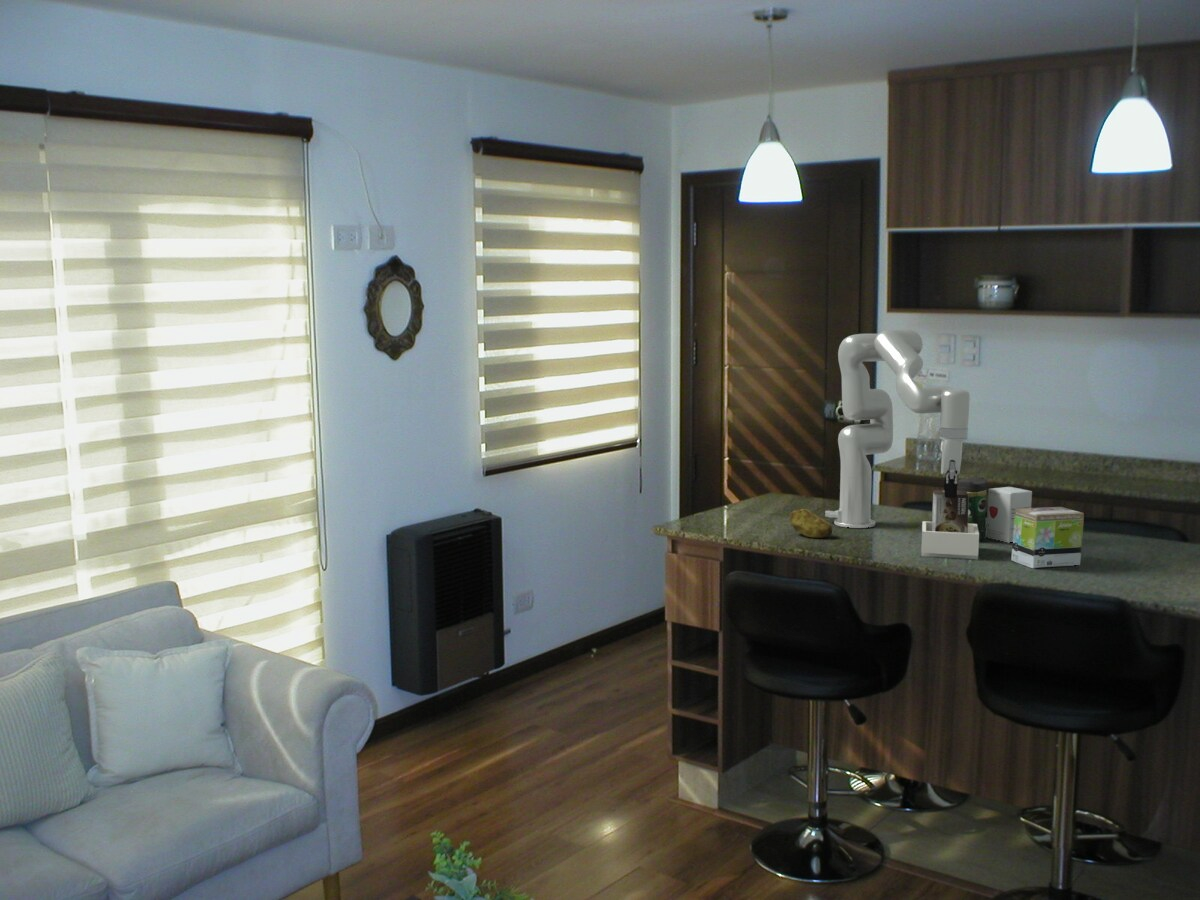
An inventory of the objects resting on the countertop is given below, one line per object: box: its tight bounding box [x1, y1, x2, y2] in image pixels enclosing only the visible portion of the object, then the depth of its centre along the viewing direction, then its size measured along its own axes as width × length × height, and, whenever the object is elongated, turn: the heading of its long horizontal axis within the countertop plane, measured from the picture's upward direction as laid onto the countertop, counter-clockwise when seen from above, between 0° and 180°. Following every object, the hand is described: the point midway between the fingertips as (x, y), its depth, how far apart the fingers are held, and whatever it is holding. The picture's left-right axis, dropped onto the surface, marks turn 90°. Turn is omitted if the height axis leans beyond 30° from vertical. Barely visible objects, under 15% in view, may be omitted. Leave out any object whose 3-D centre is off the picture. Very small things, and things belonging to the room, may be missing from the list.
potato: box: [788, 508, 833, 539], centre depth 351 cm, size 8×13×8 cm, turn 39°
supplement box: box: [985, 486, 1033, 544], centre depth 346 cm, size 9×9×15 cm
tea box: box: [1010, 506, 1085, 569], centre depth 315 cm, size 15×10×15 cm
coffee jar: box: [957, 476, 988, 541], centre depth 346 cm, size 10×8×19 cm
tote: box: [920, 520, 980, 560], centre depth 330 cm, size 15×15×7 cm
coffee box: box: [931, 489, 969, 533], centre depth 329 cm, size 9×6×16 cm
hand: (950, 494), depth 328 cm, fingers open, 9 cm apart
